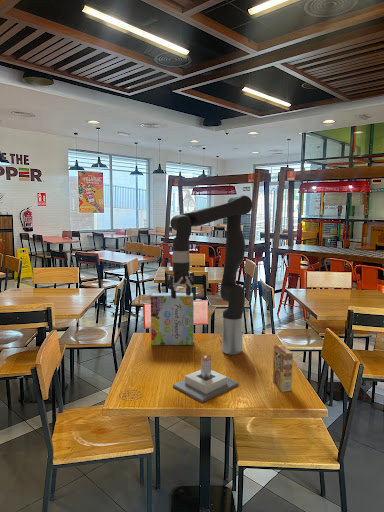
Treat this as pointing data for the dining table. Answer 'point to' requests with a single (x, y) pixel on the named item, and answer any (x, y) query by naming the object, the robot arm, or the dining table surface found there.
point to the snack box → (172, 319)
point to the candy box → (282, 368)
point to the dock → (201, 395)
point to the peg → (206, 367)
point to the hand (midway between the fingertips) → (181, 296)
